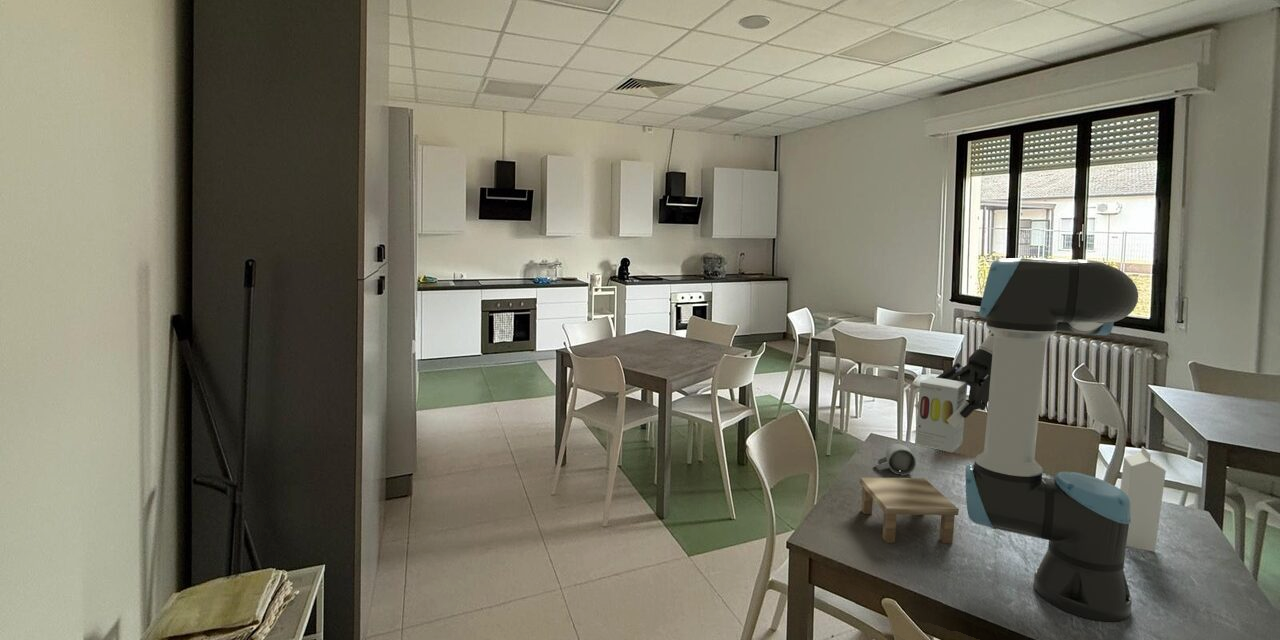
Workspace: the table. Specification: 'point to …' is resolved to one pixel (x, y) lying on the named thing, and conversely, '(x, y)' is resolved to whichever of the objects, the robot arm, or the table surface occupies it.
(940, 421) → the supplement box
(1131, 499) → the milk
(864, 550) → the table surface
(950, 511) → the footstool
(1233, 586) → the table surface
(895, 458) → the ceramic mug
